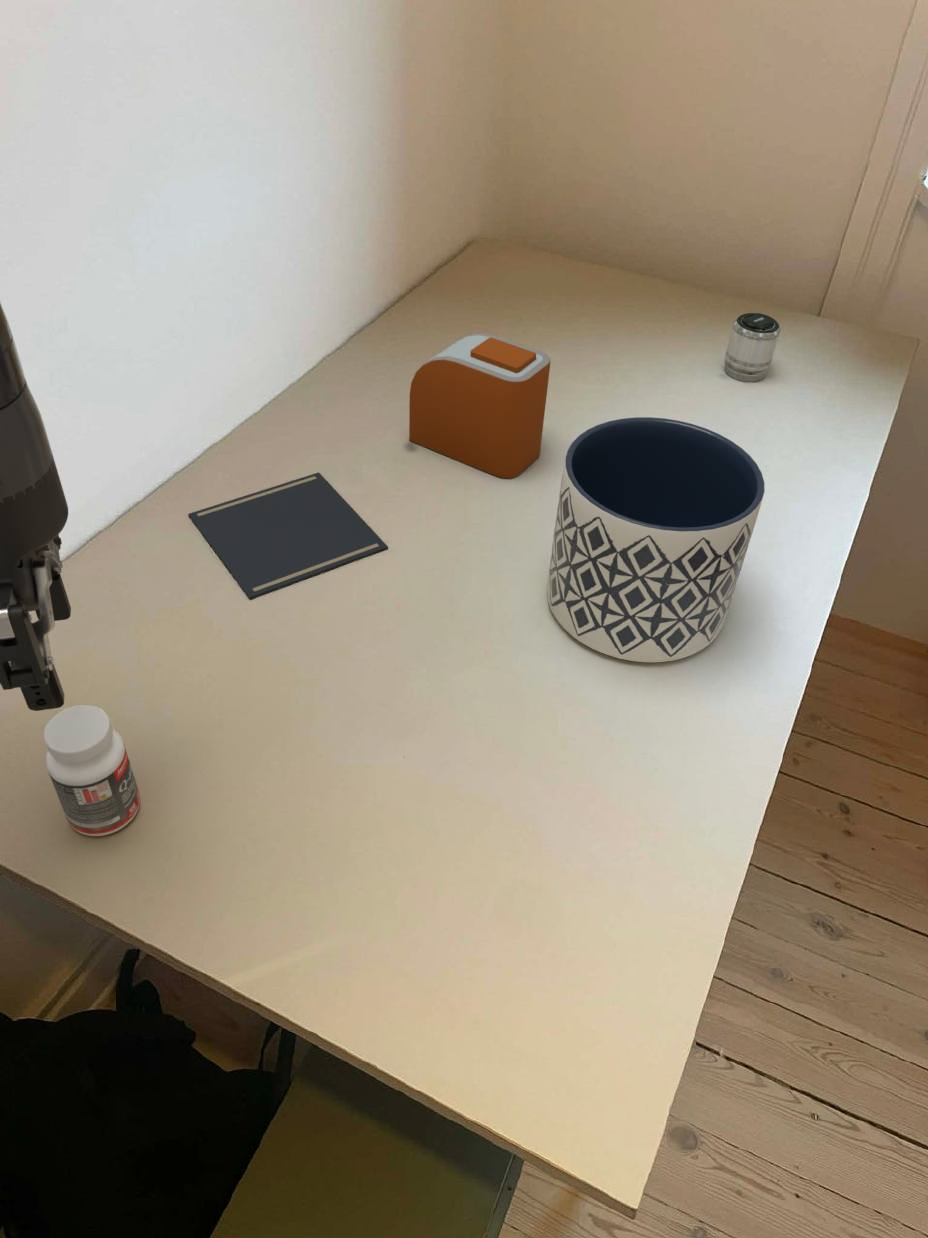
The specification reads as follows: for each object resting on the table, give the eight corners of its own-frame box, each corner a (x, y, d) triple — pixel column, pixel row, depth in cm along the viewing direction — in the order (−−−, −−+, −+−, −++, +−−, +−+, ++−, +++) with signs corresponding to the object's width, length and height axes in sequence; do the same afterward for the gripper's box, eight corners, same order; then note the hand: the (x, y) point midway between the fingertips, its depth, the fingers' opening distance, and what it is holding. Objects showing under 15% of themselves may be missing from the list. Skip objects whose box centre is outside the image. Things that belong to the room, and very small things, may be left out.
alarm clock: (547, 451, 119) (559, 349, 110) (511, 483, 114) (520, 379, 104) (447, 412, 125) (451, 312, 115) (408, 440, 119) (409, 338, 110)
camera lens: (712, 369, 136) (725, 316, 131) (740, 356, 139) (753, 304, 134) (749, 388, 133) (764, 334, 127) (776, 374, 136) (791, 321, 130)
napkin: (249, 599, 97) (249, 597, 97) (188, 515, 106) (187, 513, 106) (388, 548, 104) (388, 546, 104) (319, 474, 113) (318, 471, 113)
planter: (743, 581, 102) (785, 449, 91) (694, 692, 90) (736, 556, 79) (583, 528, 108) (604, 398, 97) (517, 627, 96) (533, 490, 84)
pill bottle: (148, 824, 77) (123, 744, 70) (74, 849, 75) (41, 769, 68) (133, 771, 81) (108, 690, 74) (62, 794, 79) (30, 713, 72)
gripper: (-71, 402, 59) (4, 598, 71) (-113, 545, 49) (-19, 748, 61) (58, 392, 61) (111, 586, 72) (42, 529, 51) (106, 730, 62)
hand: (52, 659), depth 66 cm, fingers open, 8 cm apart
